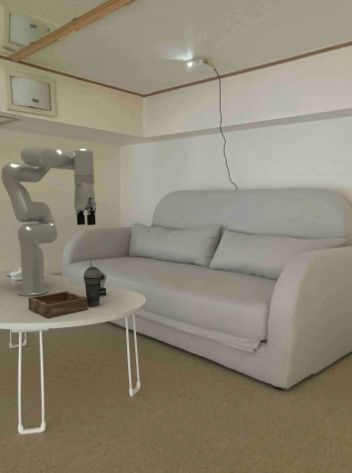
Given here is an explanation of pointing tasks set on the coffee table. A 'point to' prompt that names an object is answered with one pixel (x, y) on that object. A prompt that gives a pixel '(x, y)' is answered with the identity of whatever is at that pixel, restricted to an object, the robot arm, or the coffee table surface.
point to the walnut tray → (58, 304)
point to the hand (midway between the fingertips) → (86, 224)
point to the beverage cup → (92, 285)
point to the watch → (102, 289)
